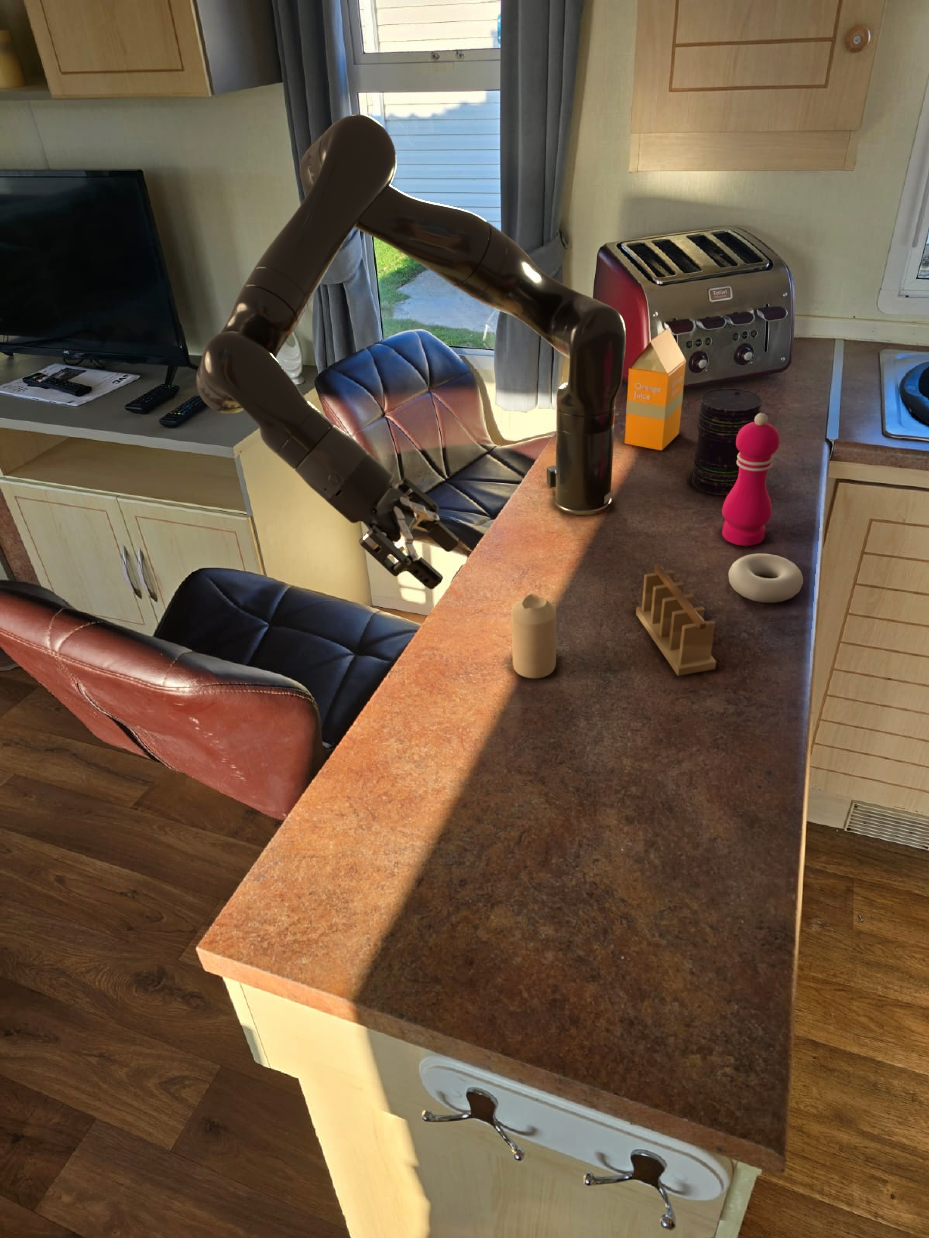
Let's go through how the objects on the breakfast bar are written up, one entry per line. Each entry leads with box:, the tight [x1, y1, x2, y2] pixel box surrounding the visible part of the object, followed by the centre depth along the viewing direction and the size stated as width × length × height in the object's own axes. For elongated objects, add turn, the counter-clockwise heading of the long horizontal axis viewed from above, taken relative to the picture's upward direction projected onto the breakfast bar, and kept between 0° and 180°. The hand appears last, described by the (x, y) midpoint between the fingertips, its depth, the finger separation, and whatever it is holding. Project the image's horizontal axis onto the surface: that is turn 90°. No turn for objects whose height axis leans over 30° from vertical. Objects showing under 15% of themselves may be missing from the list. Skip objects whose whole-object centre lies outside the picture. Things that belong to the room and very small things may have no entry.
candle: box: [510, 593, 557, 679], centre depth 106 cm, size 6×6×10 cm
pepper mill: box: [721, 412, 781, 547], centre depth 127 cm, size 7×7×20 cm
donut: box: [727, 553, 804, 604], centre depth 120 cm, size 10×4×10 cm
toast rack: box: [635, 564, 717, 677], centre depth 110 cm, size 14×5×8 cm, turn 12°
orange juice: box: [624, 327, 687, 451], centre depth 158 cm, size 8×9×20 cm
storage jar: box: [691, 387, 763, 496], centre depth 143 cm, size 10×10×15 cm
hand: (446, 565), depth 103 cm, fingers open, 8 cm apart
